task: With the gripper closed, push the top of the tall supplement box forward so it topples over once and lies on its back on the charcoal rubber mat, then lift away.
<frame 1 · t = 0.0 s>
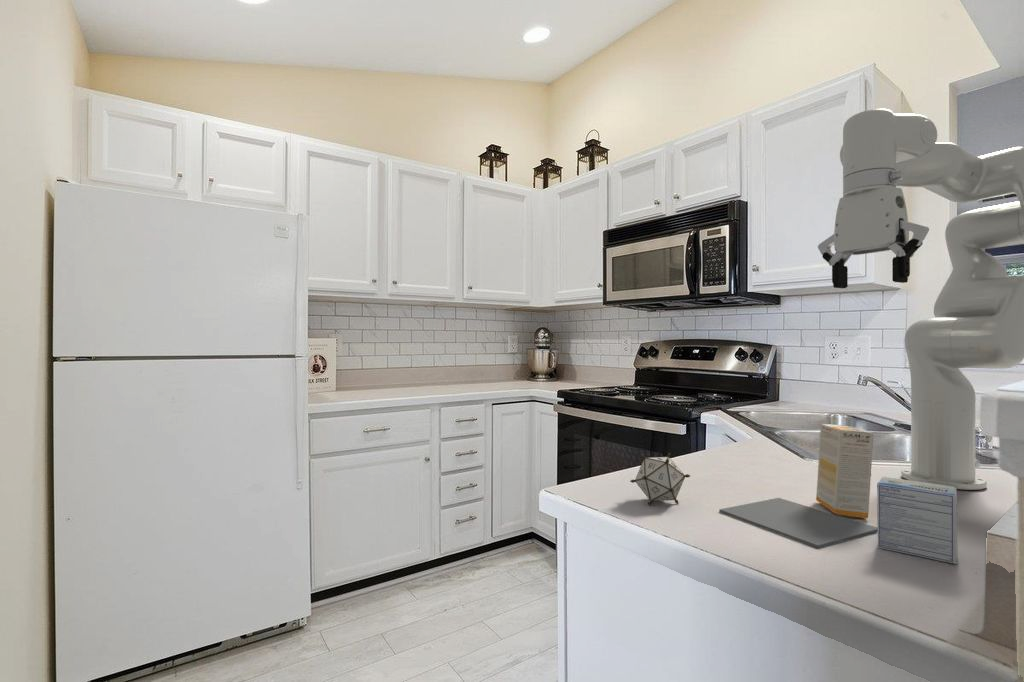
hand: (868, 285, 89), 37 cm above the counter, tool pointing down, fingers open, 9 cm apart
supplement box: (840, 510, 82), on the counter, touching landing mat
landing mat: (795, 521, 77), on the counter
game die: (659, 503, 86), on the counter
medicine box: (916, 553, 66), on the counter
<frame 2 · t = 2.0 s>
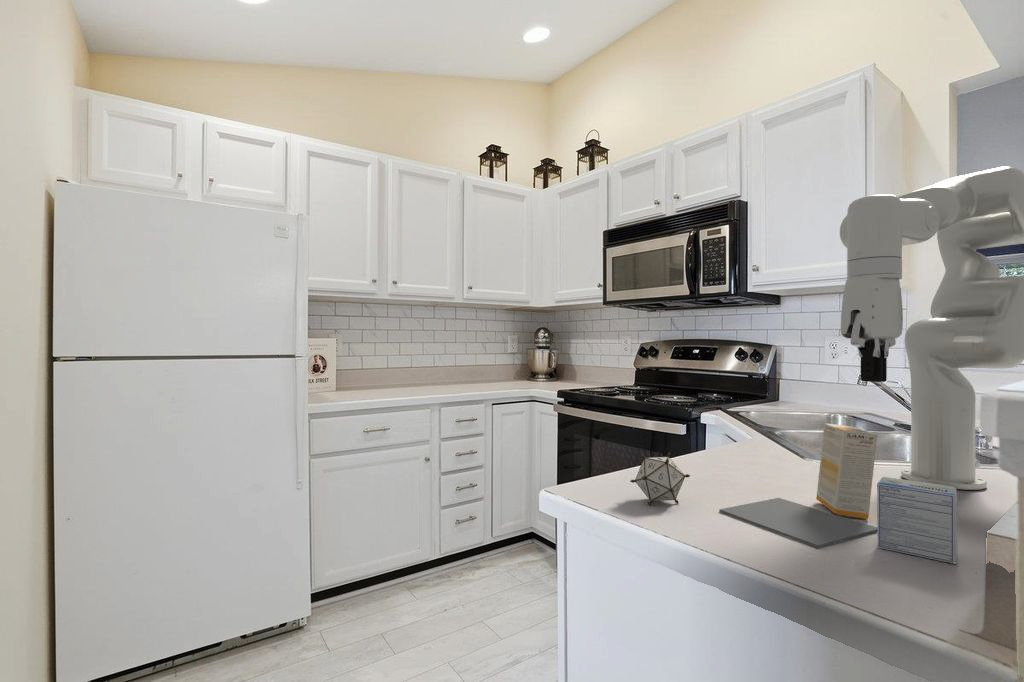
hand: (873, 381, 86), 20 cm above the counter, tool pointing down, fingers closed
nothing on the counter moved.
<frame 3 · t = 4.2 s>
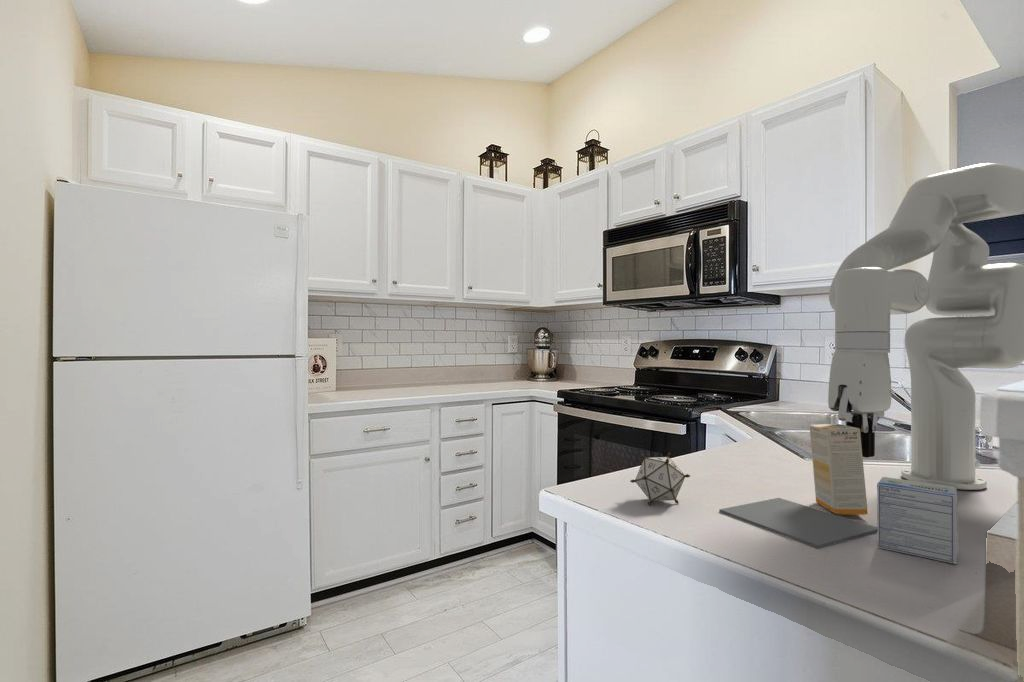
hand: (861, 455, 84), 8 cm above the counter, tool pointing down, fingers closed
supplement box: (841, 509, 82), on the counter, touching gripper, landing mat
everything else where it was.
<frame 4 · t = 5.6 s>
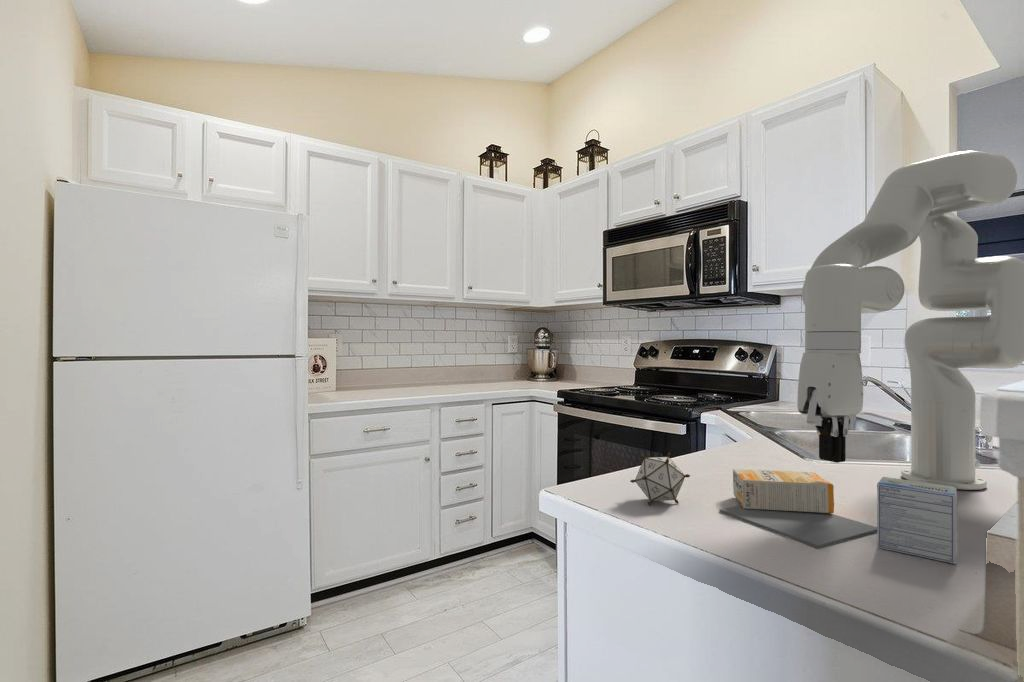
hand: (832, 460, 81), 8 cm above the counter, tool pointing down, fingers closed
supplement box: (825, 491, 82), point 3 cm above the counter, touching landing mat
everything else where it was.
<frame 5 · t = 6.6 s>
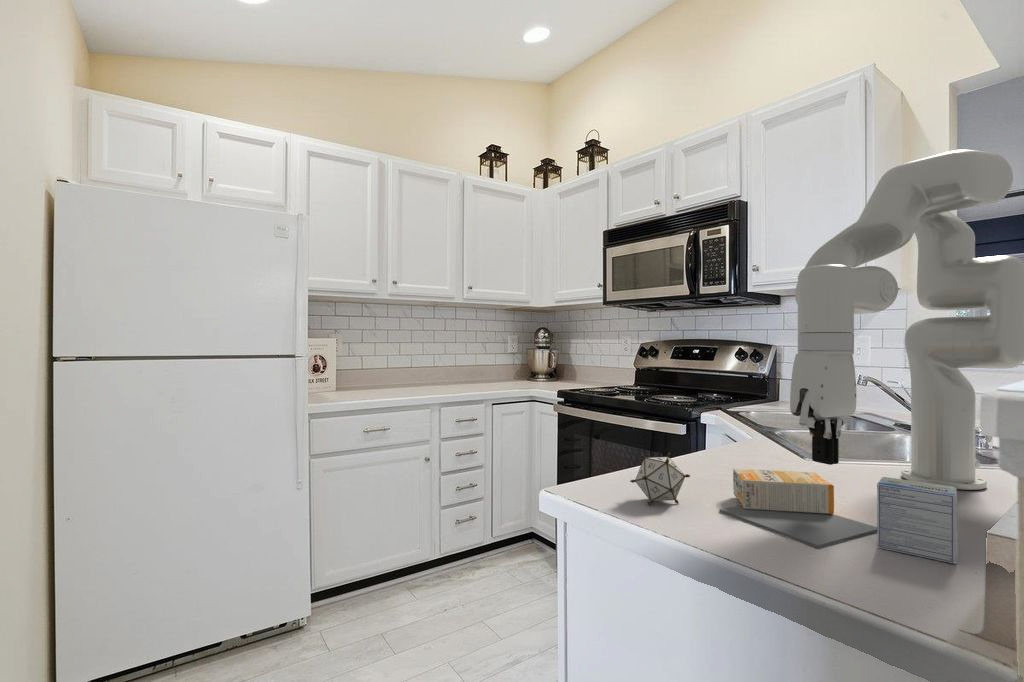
hand: (825, 462, 80), 8 cm above the counter, tool pointing down, fingers closed
nothing on the counter moved.
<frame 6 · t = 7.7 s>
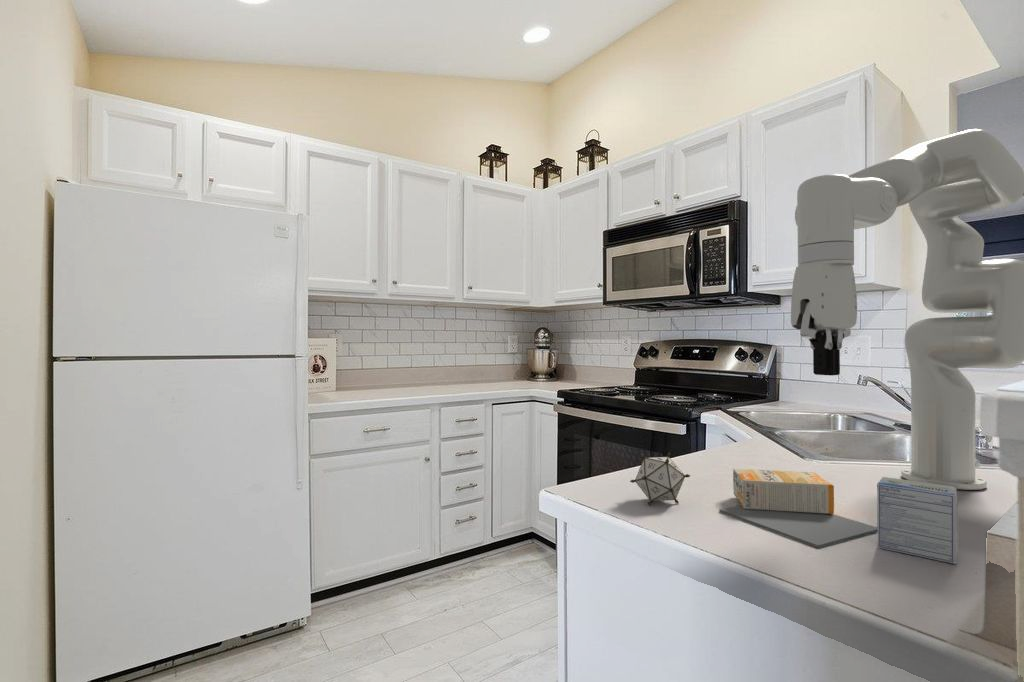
hand: (826, 374, 80), 22 cm above the counter, tool pointing down, fingers closed
nothing on the counter moved.
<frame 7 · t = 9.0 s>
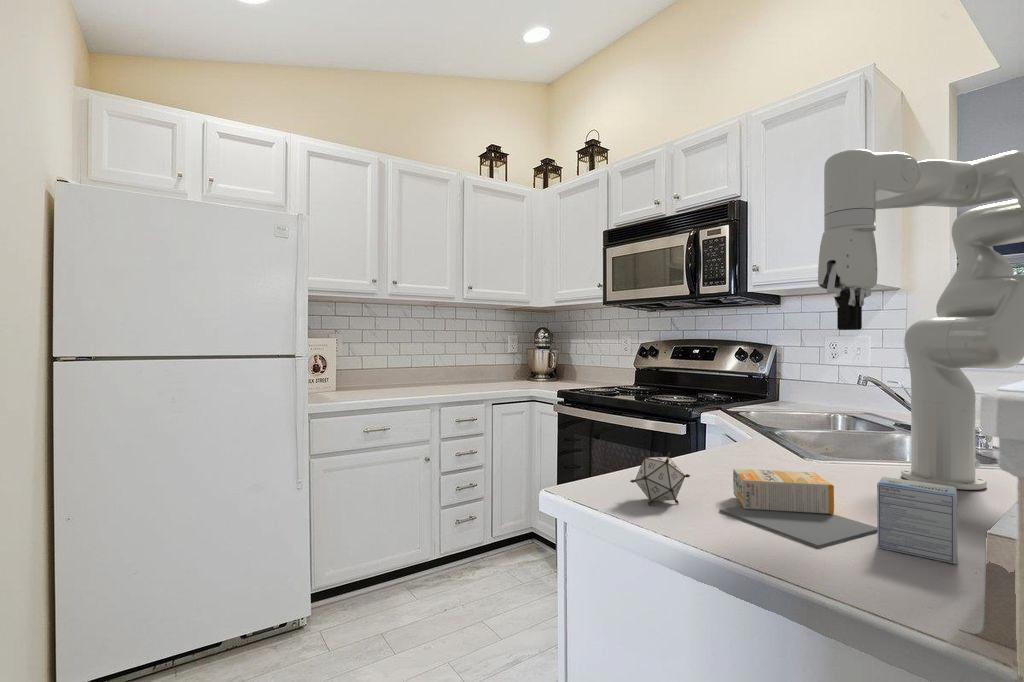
hand: (849, 329, 90), 29 cm above the counter, tool pointing down, fingers closed
nothing on the counter moved.
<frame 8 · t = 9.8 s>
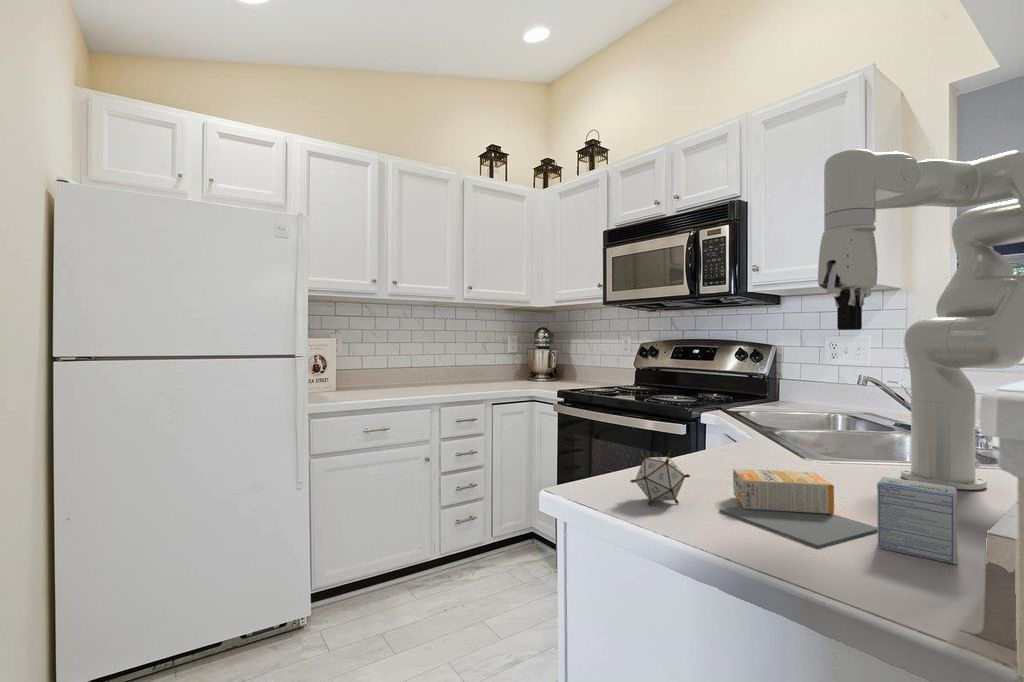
hand: (849, 329, 90), 29 cm above the counter, tool pointing down, fingers closed
nothing on the counter moved.
at the end: supplement box tilted 90°; supplement box touching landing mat; supplement box inside the target area (3.1 cm from its centre), point 2.8 cm above the counter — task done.
